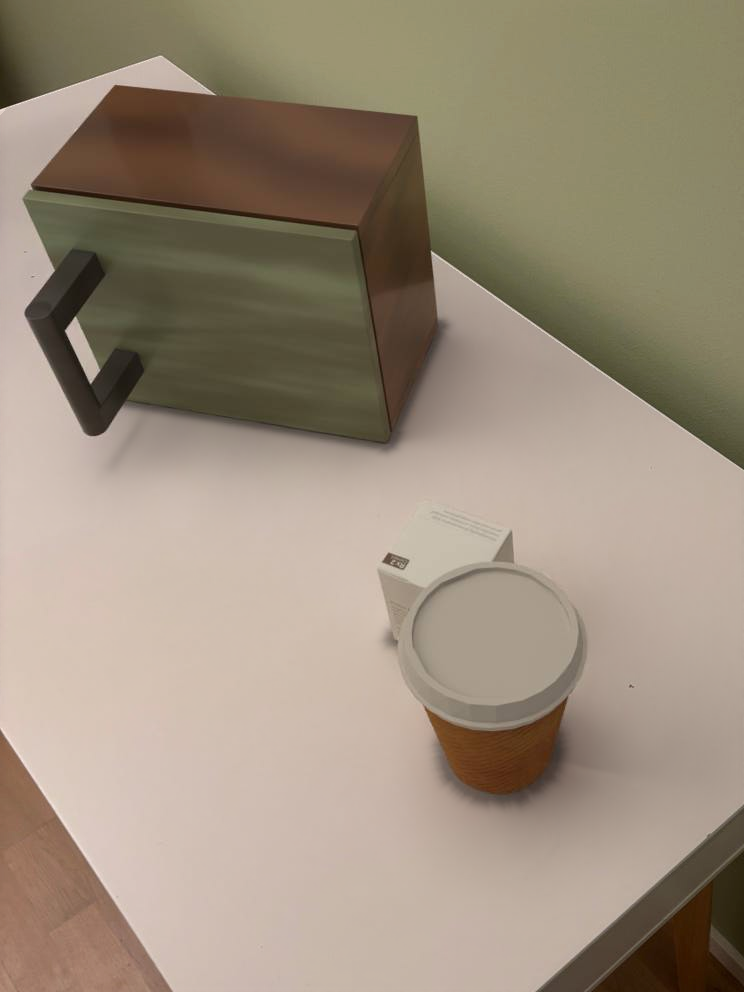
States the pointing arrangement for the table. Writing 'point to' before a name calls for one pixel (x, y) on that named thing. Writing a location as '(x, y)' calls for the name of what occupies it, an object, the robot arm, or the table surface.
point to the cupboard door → (207, 315)
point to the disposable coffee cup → (493, 669)
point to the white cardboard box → (437, 554)
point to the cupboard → (276, 188)
